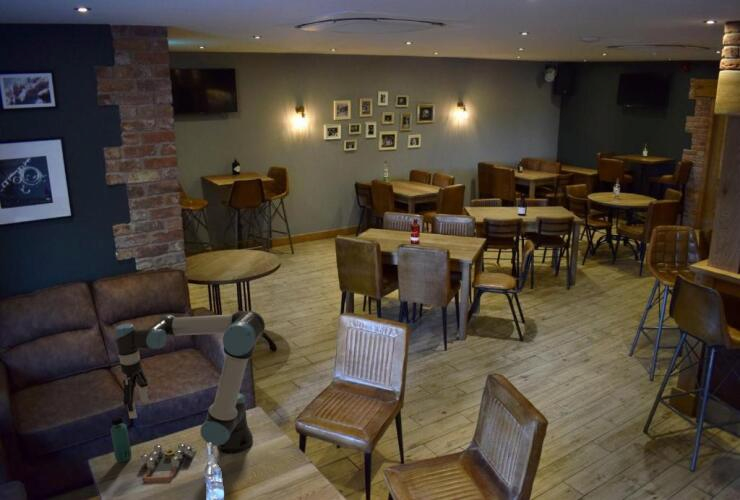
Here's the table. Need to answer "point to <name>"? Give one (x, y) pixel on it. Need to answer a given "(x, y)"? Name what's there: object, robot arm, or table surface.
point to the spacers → (158, 454)
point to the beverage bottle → (120, 440)
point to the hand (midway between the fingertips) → (139, 409)
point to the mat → (170, 464)
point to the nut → (169, 454)
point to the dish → (163, 478)
